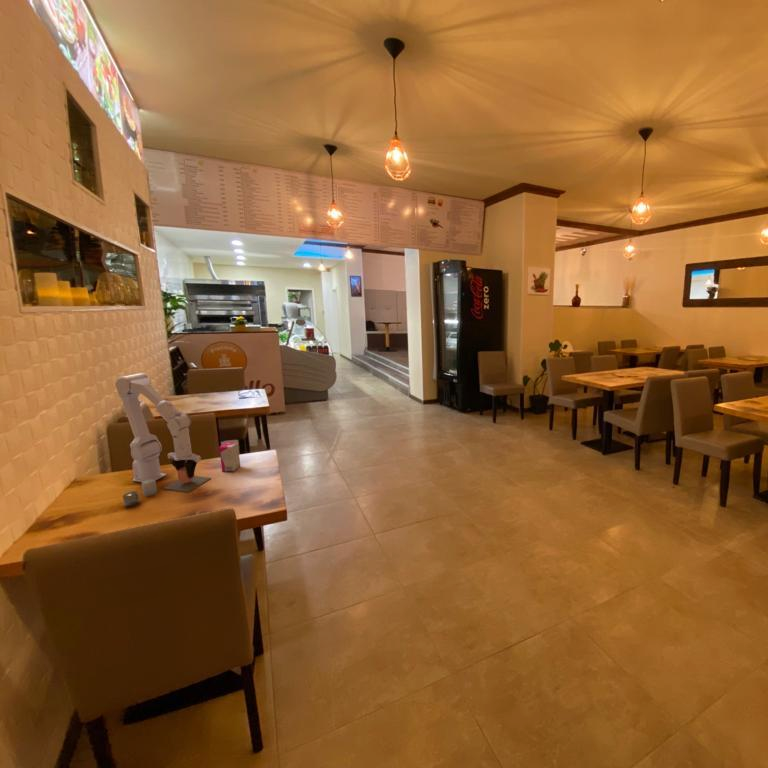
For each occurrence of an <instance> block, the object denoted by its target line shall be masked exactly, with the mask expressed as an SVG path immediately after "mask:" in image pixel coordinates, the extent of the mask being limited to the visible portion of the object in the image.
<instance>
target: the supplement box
mask: <svg viewBox="0 0 768 768" xmlns="http://www.w3.org/2000/svg"><path fill="white" fill-rule="evenodd" d="M218 448H219V455H220V456H219V457H220V463H221V464H220V465H221V466H220V467H221V472H222V473H235V472H236V471H237V470H238V469H239V468H241V460H240V459H241V458H240V450H239V443H238V442H225V443H224V444H222V445H220V446H219V447H218Z"/></svg>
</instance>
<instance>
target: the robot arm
mask: <svg viewBox="0 0 768 768" xmlns="http://www.w3.org/2000/svg"><path fill="white" fill-rule="evenodd" d="M114 385H115V388H116V391H117V395H118V397H119V398H120V400H121V403H122V405H123V409H124V411H125V414H126V416H127V419H128V422H129V423H128V424H129V425H130V428H131V432H132V434H133V437H134V439H133V440H132V441H131V443H130V444H129V447H130V455H131V458H132V459H133V462H132V471H133V477H134V478H133V479H132V481H133V482H139V483H142V482H143V481H145V480H147V479H155V481H156V482H157V480H159V479H162V478H164V477H166V476H167V473H163V472H162V471H161V465H160V459H159V456H161V455H160V453H161V452H162V450H163V447H162V443H161V442H160V441H159V439H158V436H157V435H154V434H152V433H150V430H149V428H148V424H147V421H146V417H145V416H144V413H143V408H142V406H141V404H140V401H139V396H140V394H141V395H142V396H144V397H145V398H146V399H147V400H148V401H150V402H151V403H152V404H154V405H155V411H156V412H157V413H158V414H159V416H161V417H162V418H163V419H164V420H165V421H166V423H167V424H166V426H167V429H168V430H169V432H170V435H171V436H172V440H173V448H174V452H169V453H167V459H169V460H171V459H173V460H171V462H170V464H171V465H172V466H173V467H174V468H175V470H176V471H177V470H179V469H181V468H183V467H184V466H185V468H186V470H187V474H188V477H189V478H192V477H193V476H195V471H196V467H197V465H198V463H199V462H201V461H202V457H201V455H199V454H195V453H193V452H192V445H191V438H190V429H189V427H190V426H191V424H192V418H191V416H190V415H189V414H188V413H186V412H183V411H180V410H179V409H178V408H177V407H176V406H175V405H174V404H173V403H172V401H170V400H165V399H163V397H162V396H161V395H160V394H159V393H158V391H157V390H156V389H155V387H153V385H152V380H151V378H150V377H149V376H148V375H147V374H146V373H144V372H139V373H135V374H134V373H133V374H130V375H124V376H119V377H118V378H117V379H116V381H115V383H114Z"/></svg>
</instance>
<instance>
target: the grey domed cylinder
mask: <svg viewBox="0 0 768 768" xmlns="http://www.w3.org/2000/svg"><path fill="white" fill-rule="evenodd" d="M156 482H157V480H156V481H155V479H147V480H145V481H143V482H141V488H142V493H143V496H144V497H151V496H154V495H156V494H157V493H158V490H157V487H158V486H157V483H156Z"/></svg>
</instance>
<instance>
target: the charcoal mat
mask: <svg viewBox="0 0 768 768" xmlns="http://www.w3.org/2000/svg"><path fill="white" fill-rule="evenodd" d="M194 478H195V479H193V480H191V481H190V482H188V483H182V482H179V481H178V479H177V480H176V481H174V482H172V483H170V484H168V485H166V486H164V487H163V490H167V491H176V492H180V493H186V494H189V493H190V492H192V491H193V490H195V489H197V488H199V487H200V486H202V485H203V484H205V483H206V482H208V481H210V480H211V479H212V478H211V477H207V476H206V477H205V476H199V475H194Z"/></svg>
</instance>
